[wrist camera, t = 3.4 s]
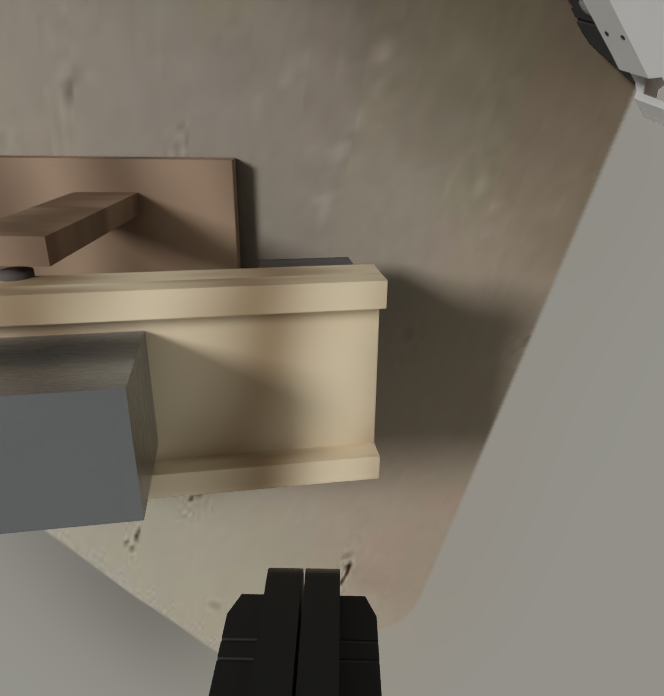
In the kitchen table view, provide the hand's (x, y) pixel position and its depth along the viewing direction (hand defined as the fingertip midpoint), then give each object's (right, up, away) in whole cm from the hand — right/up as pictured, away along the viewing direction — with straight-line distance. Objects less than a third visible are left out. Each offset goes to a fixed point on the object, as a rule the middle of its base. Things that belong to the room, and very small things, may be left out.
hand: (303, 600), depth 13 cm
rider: (-9, +4, +9) cm, 13 cm away
